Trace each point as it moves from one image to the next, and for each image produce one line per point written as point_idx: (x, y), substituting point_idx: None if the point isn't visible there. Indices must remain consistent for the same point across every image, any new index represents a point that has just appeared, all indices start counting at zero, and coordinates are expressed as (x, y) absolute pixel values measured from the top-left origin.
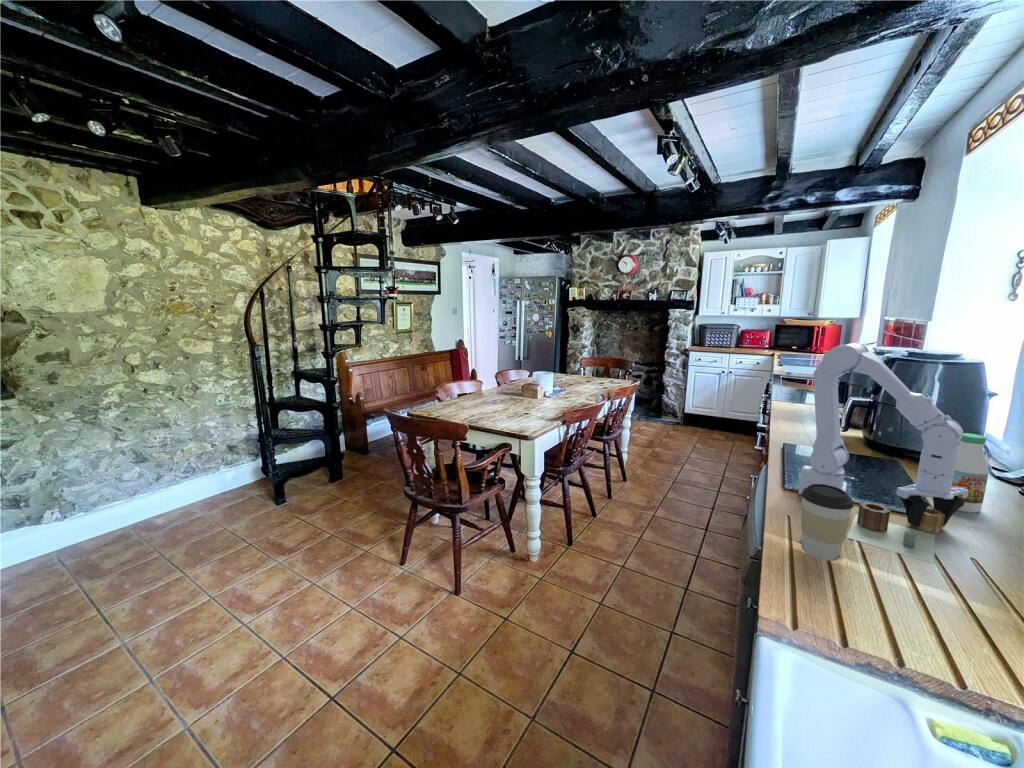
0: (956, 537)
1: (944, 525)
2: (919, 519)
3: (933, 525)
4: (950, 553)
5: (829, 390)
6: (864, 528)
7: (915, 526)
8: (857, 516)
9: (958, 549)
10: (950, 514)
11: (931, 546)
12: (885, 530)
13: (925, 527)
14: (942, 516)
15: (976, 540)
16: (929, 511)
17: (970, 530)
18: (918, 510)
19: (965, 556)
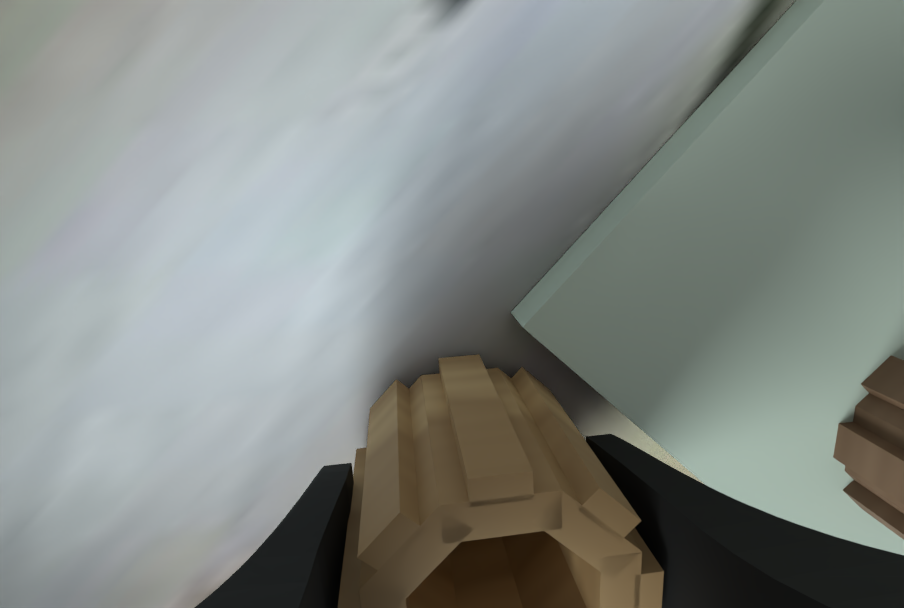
0: (264, 370)
1: (326, 470)
2: (656, 468)
3: (509, 416)
4: (575, 80)
5: None
6: None
7: (614, 436)
8: None
9: (436, 156)
10: (278, 558)
11: (756, 103)
12: (900, 363)
13: (560, 411)
14: (413, 510)
15: (115, 332)
16: None
17: (19, 505)
18: (821, 533)
19: (484, 29)
